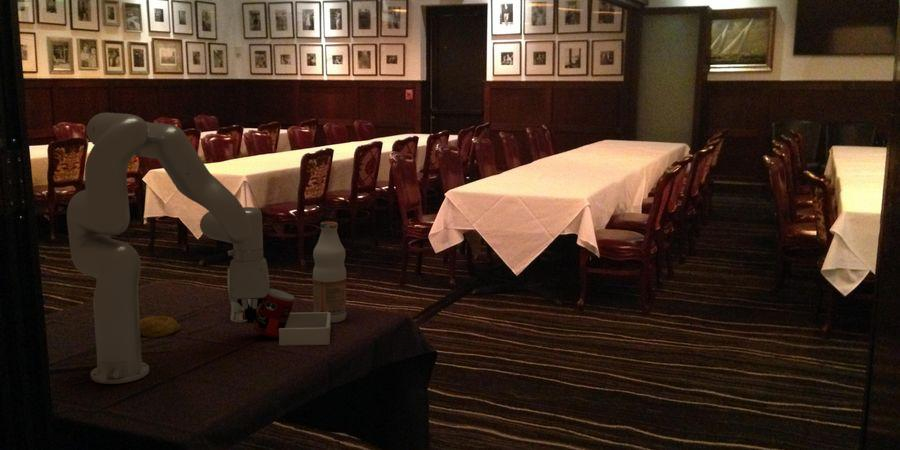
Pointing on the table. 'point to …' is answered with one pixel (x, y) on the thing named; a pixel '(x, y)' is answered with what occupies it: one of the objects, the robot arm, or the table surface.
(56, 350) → the table surface
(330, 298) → the fruit juice
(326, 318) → the box
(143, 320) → the bagel
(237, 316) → the beer glass
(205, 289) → the table surface
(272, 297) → the canned food
